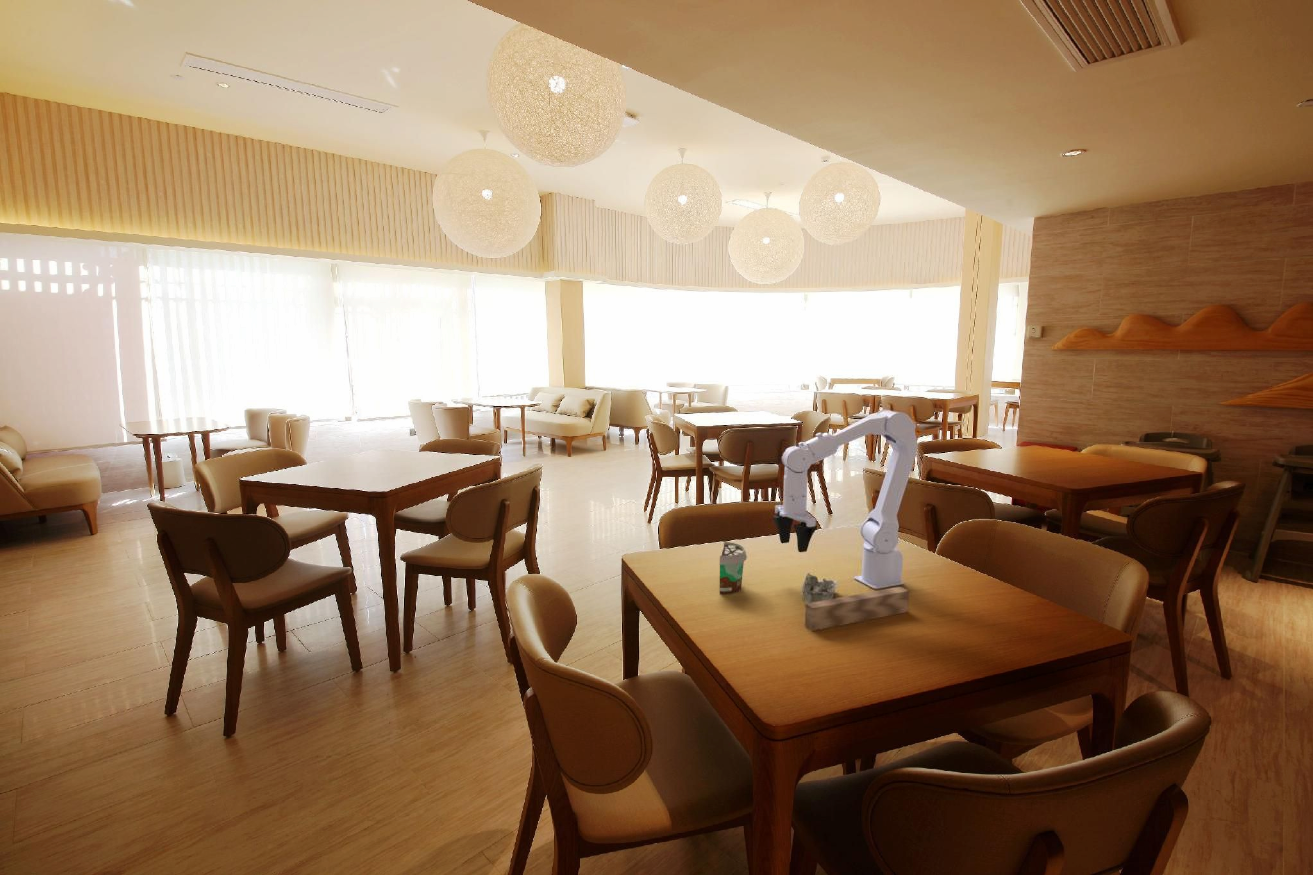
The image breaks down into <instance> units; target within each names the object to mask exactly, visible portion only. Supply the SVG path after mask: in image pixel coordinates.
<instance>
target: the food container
mask: <svg viewBox="0 0 1313 875" xmlns="http://www.w3.org/2000/svg"><path fill="white" fill-rule="evenodd" d="M721 551H722V552H721V555H719V595H731V594H736V593H738V592H740V591H741V590H742V583H743V573H744V565H745V562H746V560H747V558H748V556H747V552H746V550H745V547H743V546H742V545H740V544H739V543H735V542H731V541H723V549H722V550H721Z"/></svg>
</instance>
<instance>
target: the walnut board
mask: <svg viewBox="0 0 1313 875" xmlns="http://www.w3.org/2000/svg"><path fill="white" fill-rule="evenodd" d="M909 596H910V590H908V589H907V588H904V587H902V586H897V587H891V588H886V589H881V590H876V591H875V590H874V591H870V592H864V593H858V594H853V595H846V596H842V597H835V598H833V599H829V600H824V601H818V602H812V603H807V602H806V603H805V615H804V626H805V627H806V628H807V629H809V630H810V629H811V630H810V631H813V632H814V631H818V630H817V629H819V630H823V628H824V629H829V628H834V627H837V626H838V627H839V626H842V625H848V624H853V623H857V622H858V623H859V622H862V621H868V620H873V619H878V618H883V617H889V616H894V615H898V614H904V613H907V612H908V611H909Z"/></svg>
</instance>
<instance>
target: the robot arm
mask: <svg viewBox="0 0 1313 875" xmlns="http://www.w3.org/2000/svg"><path fill="white" fill-rule="evenodd" d="M916 428H917V425H916V423H915V422H914V421H913V419H912V418H911V417H910V416H909V415H908V414H907V413H905V412H898V411H894V410H890V409H881V410H879V411H877V412H875V413H870V414H869V415H867V416H865V417H864V418H862V419H860V420H857V421H856V422H854V423H852V424H850V425H848V426H846V427H844V428H843V429H841V430H838V431H837V432H835V433H832V434H831V433H828V432H824V433H822V432H817V433H816V434H815V436H814V437H812V438H810V439H809V440H807V441H804V442H803V441H800V442H798V444H797V445H798V446H790V447H787V448H786V449H785V451H784V452H783V453H782V456H781V462H782V464H783V465H784V470H783V471H784V475H783V496H782V498H783V500H782V501H783V502H782V504H778V505H775V506H774V513H775V515H772V519H773V522H774V523H775V526H776V529H777V531H778V532H777V533H778V536H779V541H780V544H787V543H788V544H789V542H790V539H791V529H792V527H793V528H794V531H795V534H796V541H797V552H799V553H806V552H807V551H808V547H809V544H810V542H811V540H812V537H813V534H814V533H815V532H816V531H817V530H818V525H817V524H816V523H817V522H816V521H817V520H816V519H817V518H815V517H813V516H812V515H811V514H810V513H808V512H807V504H808V503H807V501H808V498H807V497H808V496H807V495H808V470H809V469H810V467H811V465H813V464H816V463H817V462H820V461H822V460H825V459H826V458H829V457H831V456H834V455H835V454H836V453H837V452H838V449H839V447H841V446H842V445H846V444H848V443H850V442H853V441H855V440H857V439H860V438H863V437H865V436H868V435H874V436H875V435H876V436H877V435H878V436H882V437H883V438H885V439H886V441H887V442H888V444H889V445H890V447H891V449H892V453H891V456H890V459H889V462H888V466H887V469H886V473H885V475H884V477H883V478H884V479H883V482H882V484H881V488H880V491H879V494H878V498H877V500H876V504H875V508H873V509H872V510H871V511H870V512H869V513H868V515H867V518H866V520H864V521H863V523H862V524H861V525H860V531H859V532H860V535H861V537H862V539H863V540H864V541H863V542H864V543H863V544H862V545H863V547H862V562H861V563H862V564H861V565H862V567H861V575H855V576H854V577H853V579H855V580H857V581H859V582H860V583H863V584H864V585H867V586H868V587H870V588H873V589H875V590H877V589H883V588H889V587H894V586H900V585H904V584H905V582H904V581H903V580H902V578H903V566H904V565H903V563H904V561H903V560H904V558H903V555H902V552H901V550H900V549H899V548H898V547H897V546H898V543H899V535H898V533H899V528H900V524H899V521H898V512H899V509H900V505H901V504H902V499H903V497H904V493H905V491H906V487H907V484H908V481H909V478H910V475H911V472H912V468H913V466H914V463H915V459H916V457H917V452H918V449H919V446H918V440H917V437H916V436H917V435H916ZM794 521H797V522H799V524H798V523H797V524H793V523H794Z"/></svg>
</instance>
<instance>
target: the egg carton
mask: <svg viewBox="0 0 1313 875" xmlns="http://www.w3.org/2000/svg"><path fill="white" fill-rule="evenodd" d="M837 586H838V581H837V580H832V579H829V580H827V579H825V578H823V579H822V581H821V580H818V576H816V575H812V574H811V572H808V573H807V574H806V576H805V580H804V581H803V584H802V587H801V594H802V600H803V601H805V602H806V604H807V603H812V602H818V601H824V600H829V599H834V594H835V590H836V587H837ZM812 588H813V589H812ZM811 589H812V590H811ZM825 590H827V592H825Z"/></svg>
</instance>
